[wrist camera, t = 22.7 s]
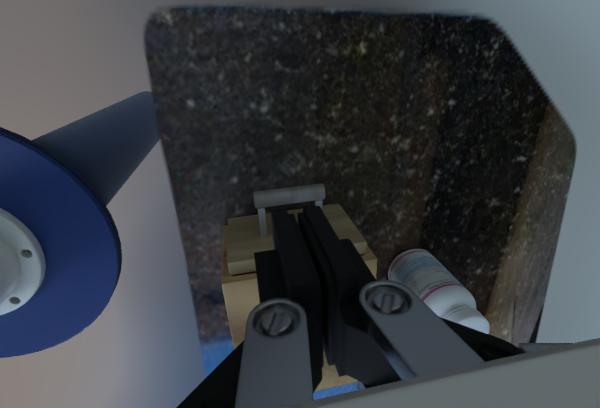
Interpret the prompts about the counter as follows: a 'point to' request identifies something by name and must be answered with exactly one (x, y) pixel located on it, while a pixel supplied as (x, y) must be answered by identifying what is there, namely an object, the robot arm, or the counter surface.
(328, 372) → the cabinet
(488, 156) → the counter surface
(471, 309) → the pill bottle
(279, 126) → the counter surface
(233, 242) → the drawer
